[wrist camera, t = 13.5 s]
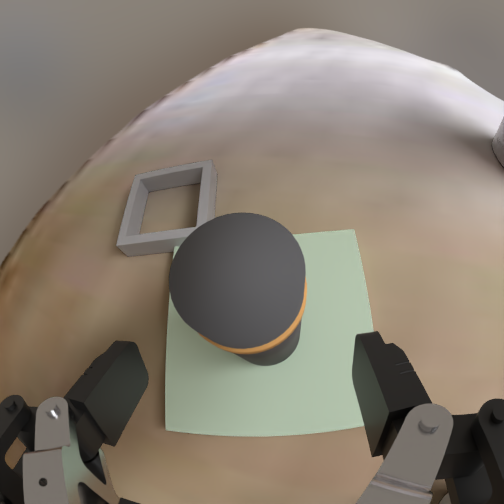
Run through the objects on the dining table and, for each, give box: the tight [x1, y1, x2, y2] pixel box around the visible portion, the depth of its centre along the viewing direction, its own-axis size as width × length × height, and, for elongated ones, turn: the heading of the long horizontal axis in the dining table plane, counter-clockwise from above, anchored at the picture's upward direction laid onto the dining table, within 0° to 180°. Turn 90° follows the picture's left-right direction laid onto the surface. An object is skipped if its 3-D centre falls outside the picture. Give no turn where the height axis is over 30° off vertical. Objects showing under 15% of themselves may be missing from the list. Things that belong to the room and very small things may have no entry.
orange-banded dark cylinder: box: [169, 213, 307, 366], centre depth 13 cm, size 5×5×10 cm
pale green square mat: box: [165, 229, 374, 436], centre depth 18 cm, size 14×14×1 cm
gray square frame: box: [116, 160, 217, 256], centre depth 23 cm, size 8×8×2 cm
